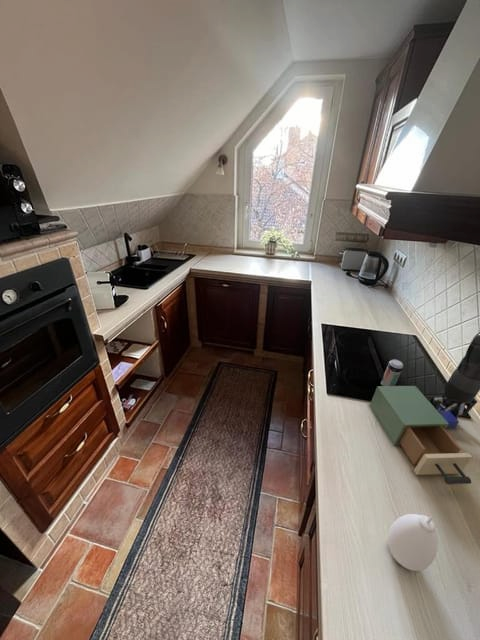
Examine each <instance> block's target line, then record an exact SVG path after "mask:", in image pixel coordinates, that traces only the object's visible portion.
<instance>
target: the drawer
mask: <svg viewBox="0 0 480 640" xmlns="http://www.w3.org/2000/svg"><path fill="white" fill-rule="evenodd" d="M399 443H400V444H401V445H400V446H401V448H402V449H403V451H404V452H405V454H406V455H407V457H408V459H409V460H410V462H411V463H412V465H413V466H415V468H414V469H413V472H414V474H415V475H416V476H427V475H428V476H429V475H430V476H431V475H441V476H442V477H443V481H444V483H445V484H446V485H467V484H472V479H471V478H470V477H469V476H466V474H465V473H464V472H463V470H464V468H465V467H466V466H467V465H468V464H469V462H470V461H471V460H472V459H473V456H472V455H471V454H470V452H460V451H461V450H462V447H461V446H460V445H459V444H458V443H457V442H456V440H455V439H454V438H453V437H452V435H451V434H449V432H448V431H447V430H446V429H444V428H443V426H413V427H406V428H405V430H404V432H403V434H402V435H401V437H400V439H399ZM447 475H460V476H447Z"/></svg>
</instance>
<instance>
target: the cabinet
mask: <svg viewBox="0 0 480 640" xmlns="http://www.w3.org/2000/svg"><path fill="white" fill-rule="evenodd" d="M369 407H370V408H371V409H372V412H373V413H374V415H375V417H376V418H377V420H378V421H379V423H380V425H381V426H382V428H383V430H384V431H385V433H386V434H387V436H388V439H390V441H391V443H392V444H393V446H401V444H400V443H399V439H400V437H401V435H402V434H403V432H404V430H405V428H406V427H413V426H443V428H444V429H445V430H446V429H448V428H447V426H448V425H449V423H448V422H447V421H446V420H445V419H444V418H443V417H442V415H441V414H440V413H439V412H438V411H437V410H436V409H435V408H434V406H433V405H432V404H431V403H430V400H428V399H427V398H426V396H425V395H424V394H423V392H422V391H420V389H419V388H418V387H417V386H416V385H395V386H382V385H380V386H376V388H375V392H374V394H373V396H372V399H371V400H370V404H369Z"/></svg>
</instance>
